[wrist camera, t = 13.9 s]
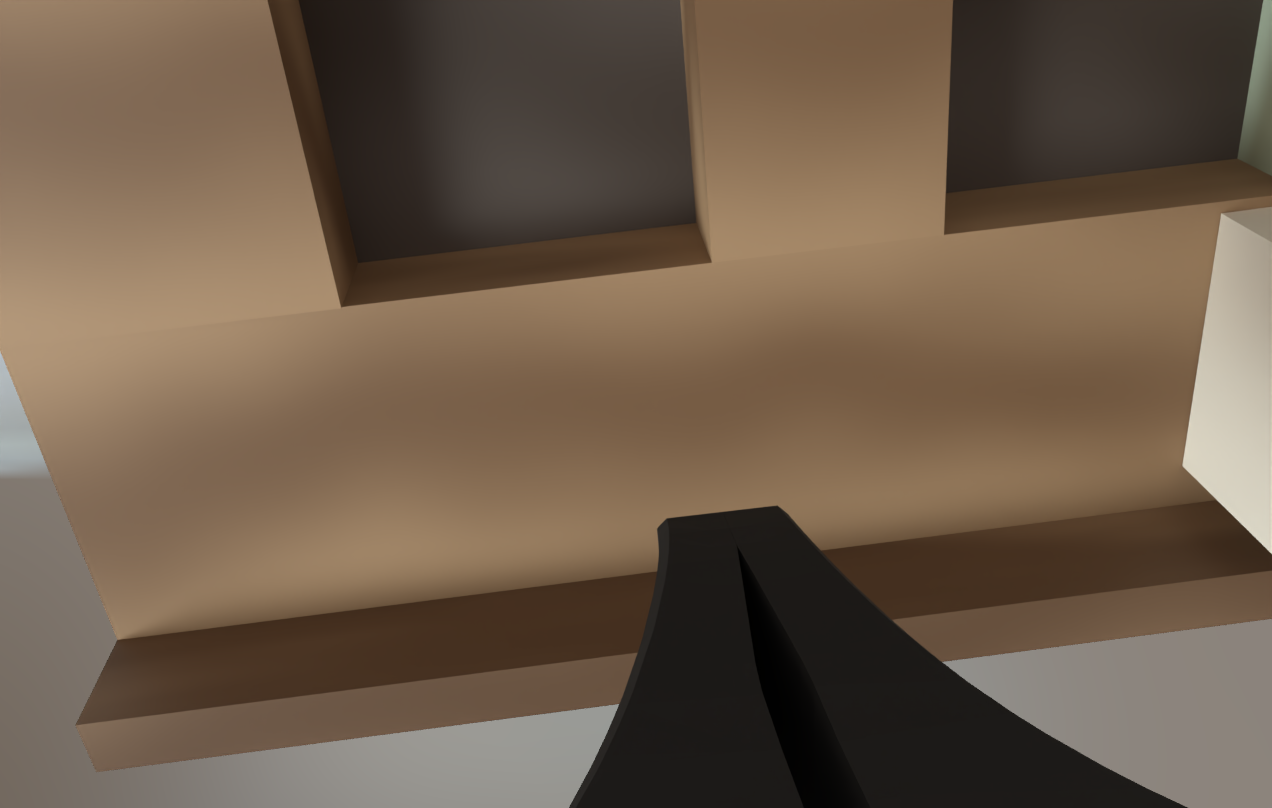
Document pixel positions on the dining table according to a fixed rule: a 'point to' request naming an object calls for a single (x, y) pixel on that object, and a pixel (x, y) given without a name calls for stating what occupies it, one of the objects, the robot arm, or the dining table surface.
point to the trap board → (608, 330)
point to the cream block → (1237, 376)
